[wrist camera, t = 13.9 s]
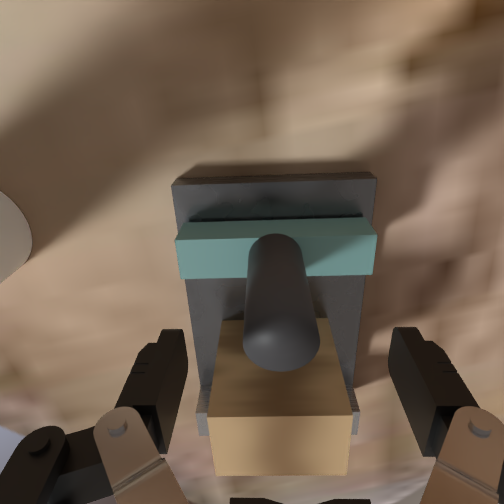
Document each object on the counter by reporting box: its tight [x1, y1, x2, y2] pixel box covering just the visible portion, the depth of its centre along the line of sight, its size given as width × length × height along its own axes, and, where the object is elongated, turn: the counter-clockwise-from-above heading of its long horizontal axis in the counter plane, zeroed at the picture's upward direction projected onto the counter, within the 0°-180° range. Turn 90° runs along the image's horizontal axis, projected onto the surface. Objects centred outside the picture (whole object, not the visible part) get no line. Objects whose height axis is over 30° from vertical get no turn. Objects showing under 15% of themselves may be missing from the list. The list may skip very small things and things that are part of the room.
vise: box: [171, 172, 377, 436], centre depth 25 cm, size 12×19×4 cm, turn 2°
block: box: [207, 318, 353, 476], centre depth 23 cm, size 8×5×8 cm, turn 93°
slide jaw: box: [175, 217, 377, 372], centre depth 18 cm, size 11×3×10 cm, turn 92°
